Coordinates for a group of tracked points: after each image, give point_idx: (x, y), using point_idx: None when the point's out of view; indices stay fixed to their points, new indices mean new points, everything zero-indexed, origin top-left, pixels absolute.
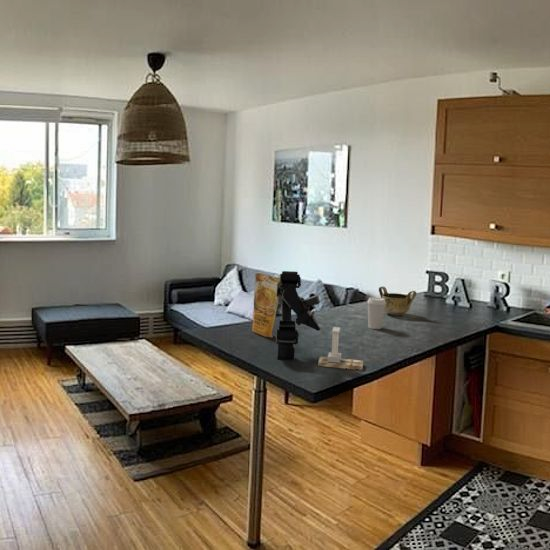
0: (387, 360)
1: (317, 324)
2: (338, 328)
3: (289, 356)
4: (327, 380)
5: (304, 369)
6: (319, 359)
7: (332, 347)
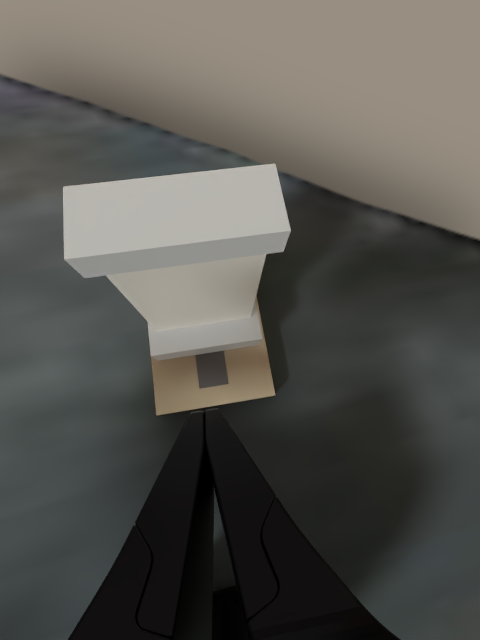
0: (31, 123)
1: (219, 465)
2: (123, 193)
3: (231, 628)
4: (464, 294)
5: (374, 447)
6: (218, 403)
7: (255, 293)
